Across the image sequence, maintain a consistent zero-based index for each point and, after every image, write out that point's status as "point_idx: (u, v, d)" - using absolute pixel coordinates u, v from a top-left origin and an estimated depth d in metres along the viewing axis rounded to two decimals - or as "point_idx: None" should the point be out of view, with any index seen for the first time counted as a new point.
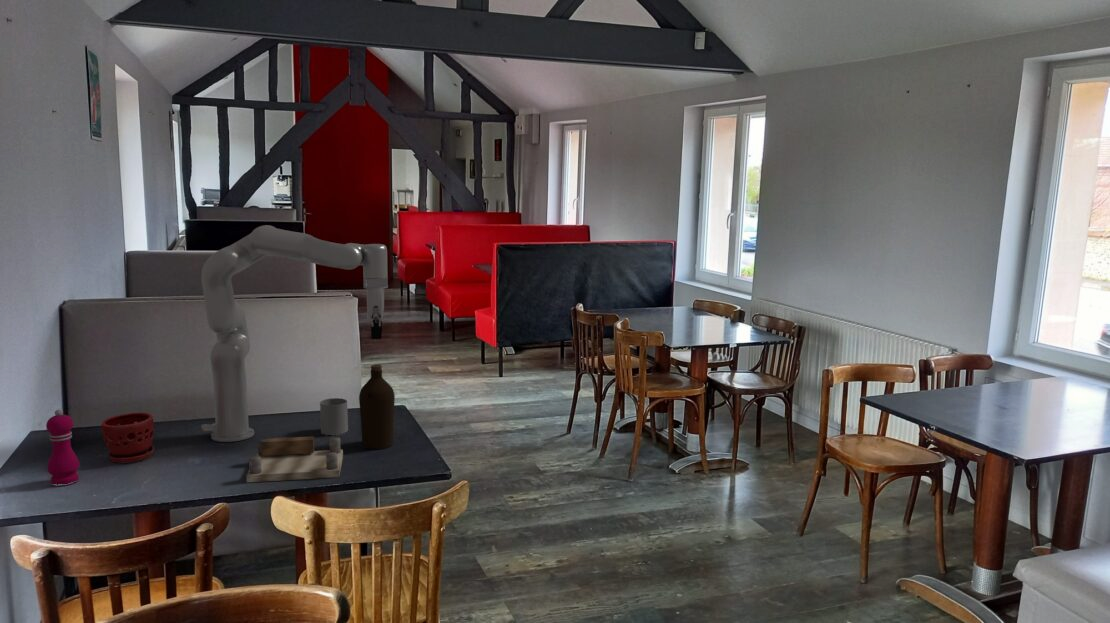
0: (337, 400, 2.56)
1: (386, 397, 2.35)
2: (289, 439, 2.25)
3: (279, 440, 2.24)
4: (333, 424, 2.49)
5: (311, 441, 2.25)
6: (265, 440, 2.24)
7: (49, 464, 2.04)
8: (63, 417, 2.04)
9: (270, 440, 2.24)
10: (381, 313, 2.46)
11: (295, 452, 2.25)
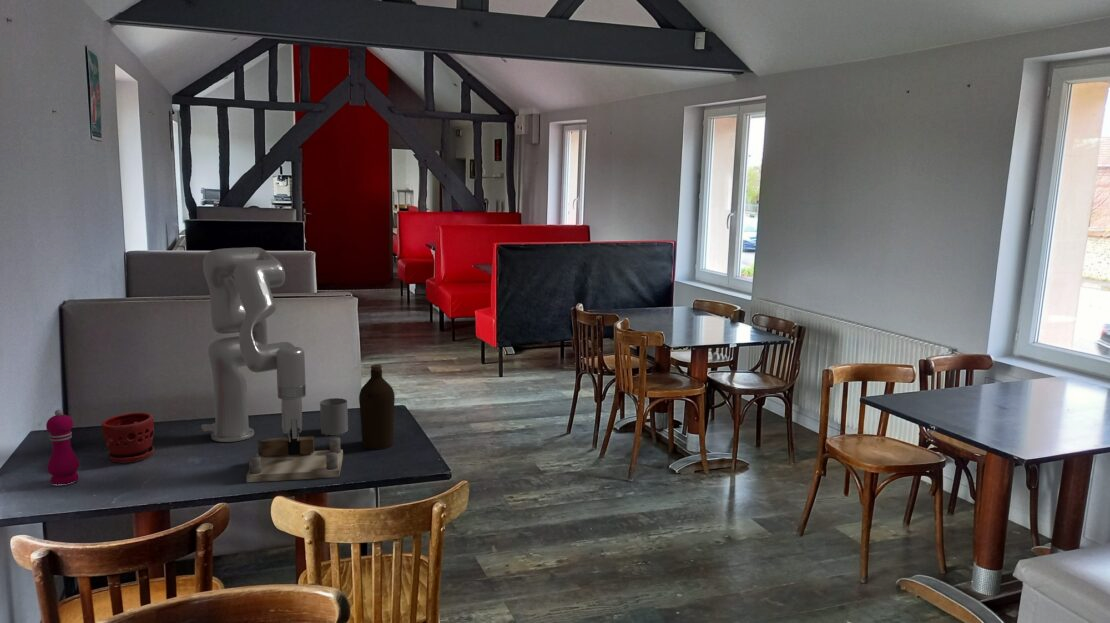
0: (337, 400, 2.56)
1: (386, 397, 2.35)
2: None
3: (279, 440, 2.24)
4: (333, 424, 2.49)
5: (311, 441, 2.25)
6: (265, 440, 2.24)
7: (49, 464, 2.04)
8: (63, 417, 2.04)
9: (270, 440, 2.24)
10: (300, 426, 2.17)
11: None
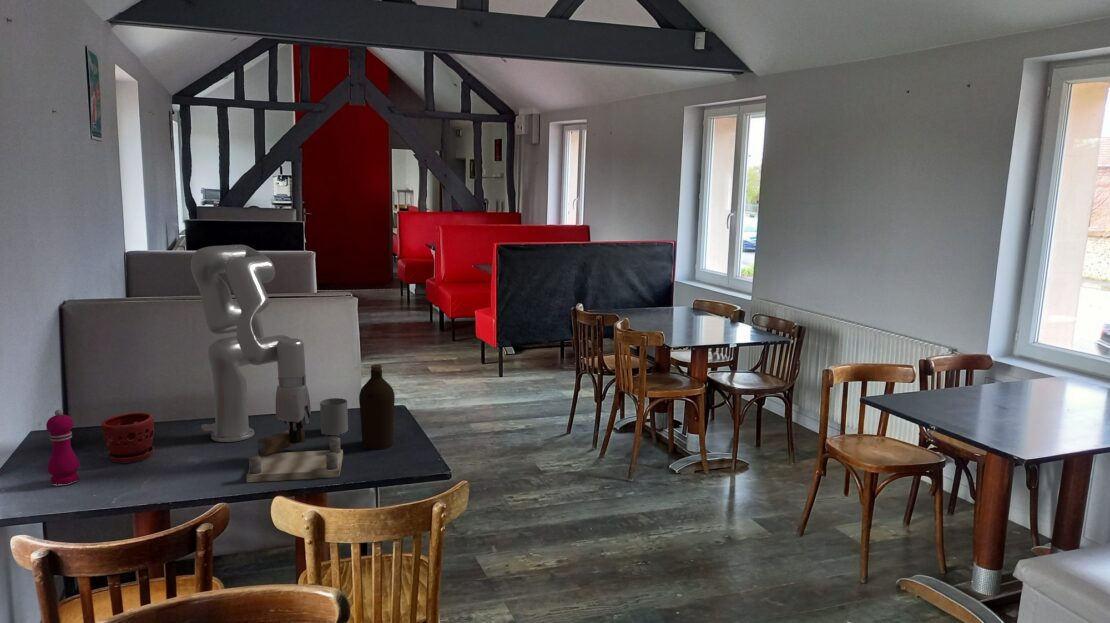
0: (337, 400, 2.56)
1: (386, 397, 2.35)
2: (283, 433, 2.30)
3: (277, 436, 2.27)
4: (333, 424, 2.49)
5: (303, 430, 2.34)
6: (265, 439, 2.24)
7: (49, 464, 2.04)
8: (63, 417, 2.04)
9: (269, 438, 2.25)
10: (310, 412, 2.27)
11: (291, 444, 2.31)
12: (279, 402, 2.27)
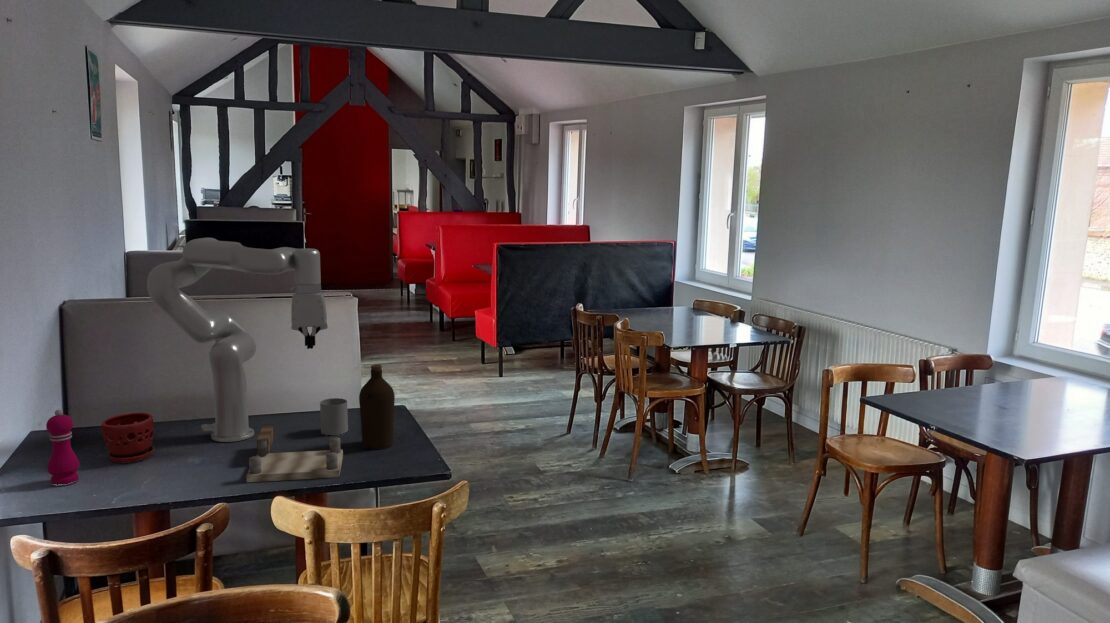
0: (337, 400, 2.56)
1: (386, 397, 2.35)
2: (266, 432, 2.31)
3: (266, 435, 2.28)
4: (333, 424, 2.49)
5: None
6: (263, 439, 2.24)
7: (49, 464, 2.04)
8: (63, 417, 2.04)
9: (264, 437, 2.26)
10: None
11: None
12: (298, 310, 2.36)
